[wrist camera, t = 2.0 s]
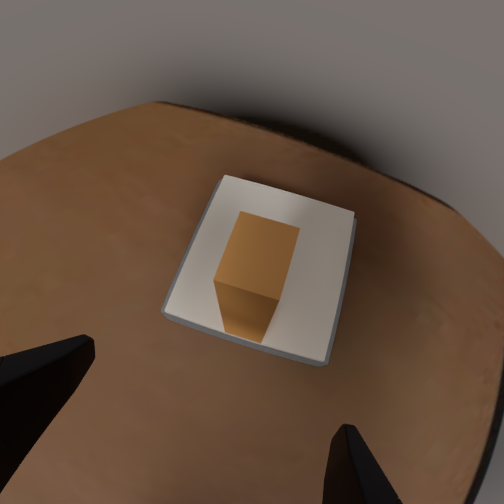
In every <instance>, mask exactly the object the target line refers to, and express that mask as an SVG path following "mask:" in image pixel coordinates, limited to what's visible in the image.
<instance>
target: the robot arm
mask: <svg viewBox="0 0 504 504" xmlns="http://www.w3.org/2000/svg"><path fill="white" fill-rule="evenodd" d="M94 359H95V345H94V340H93V338H91V337H89V336H87V335H85V334H83V335H79V336H75V337H72V338H68V339H65V340H61V341H58V342H54V343H51V344H47V345H43V346H40V347H36V348H32V349H29V350H25V351H21V352H18V353H14V354H10V355H6V356H5V357H4V356H2V357H0V493H1V492H2V490H3V489H4V487H5V486H6V484H7V483H8V481H9V480H10V478H11V477H12V475H13V474H14V473H15V471H16V470H17V468H18V467H19V466H20V464H21V462H22V461H23V460H24V458H25V457H26V455H27V454H28V453H29V451H30V450H31V449H32V447H33V446H34V444H35V443H36V442H37V440H38V439H39V438H40V436H41V435H42V434H43V432H44V431H45V430H46V428H47V427H48V426H49V424H50V423H51V422H52V420H53V419H54V418H55V416H56V415H57V414H58V412H59V411H60V410H61V408H62V407H63V406H64V405H65V403H66V402H67V401H68V399H69V398H70V397H71V396H72V394H73V393H74V392H75V390H76V389H77V387H78V386H79V384H80V382H81V381H82V379H83V377H84V376H85V374H86V373H87V371H88V369H89V368H90V366H91V365H92V363H93V361H94ZM398 498H399V497H398V495H397V494H396V492H395V490H394V489H393V487H392V486H391V484H390V482H389V481H388V479H387V477H386V476H385V474H384V473H383V471H382V469H381V468H380V466H379V464H378V463H377V461H376V459H375V458H374V456H373V455H372V453H371V451H370V450H369V448H368V446H367V445H366V443H365V441H364V440H363V438H362V437H361V435H360V433H359V432H358V430H357V428H356V427H355V426H354V425H350V424H343V425H342V426H341V427H340V428H339V430H338V431H337V432H336V434H335V435H334V436H333V438H332V441H331V445H330V451H329V457H328V462H327V467H326V472H325V478H324V488H323V501H322V504H403V503H402V502H401V500H400V499H398Z"/></svg>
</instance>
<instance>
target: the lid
mask: <svg viewBox="0 0 504 504" xmlns="http://www.w3.org/2000/svg"><path fill="white" fill-rule="evenodd" d="M354 213H355V212H353V211H349V210H346V209H343V208H340V207H337V206H334V205H331V204H327V203H324V202H321V201H318V200H314V199H311V198H308V197H304V196H301V195H298V194H294V193H291V192H287V191H284V190H280V189H277V188H273V187H270V186H266V185H262V184H259V183H255V182H251V181H247V180H244V179H240V178H236V177H232V176H228V175H224V177H223V179H222V181H221V183H220V186H219V188H218V190H217V192H216V194H215V196H214V198H213V200H212V202H211V205H210V207H209V209H208V211H207V213H206V215H205V218H204V220H203V222H202V224H201V226H200V229H199V231H198V233H197V235H196V237H195V240H194V242H193V244H192V246H191V249H190V251H189V253H188V256H187V258H186V260H185V262H184V265H183V267H182V269H181V272H180V274H179V276H178V279H177V281H176V284H175V286H174V288H173V291H172V293H171V296H170V298H169V300H168V303H167V305H166V308H165V310H164V311H165V312H166V313H168V314H171V315H174V316H176V317H179V318H182V319H185V320H187V321H190V322H193V323H196V324H199V325H202V326H204V327H207V328H210V329H213V330H216V331H219V332H222V333H225V334H228V335H231V336H234V337H237V338H241V339H244V340H247V341H250V342H253V343H257V344H260V345H263V346H266V347H270V348H273V349H277V350H280V351H284V352H287V353H291V354H294V355H298V356H301V357H305V358H309V359H313V360H316V361H320V362H323V361H324V360H325V356H326V352H327V348H328V344H329V340H330V336H331V332H332V328H333V324H334V319H335V315H336V310H337V306H338V301H339V296H340V292H341V287H342V282H343V277H344V272H345V266H346V261H347V255H348V250H349V244H350V238H351V232H352V226H353V219H354Z"/></svg>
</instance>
